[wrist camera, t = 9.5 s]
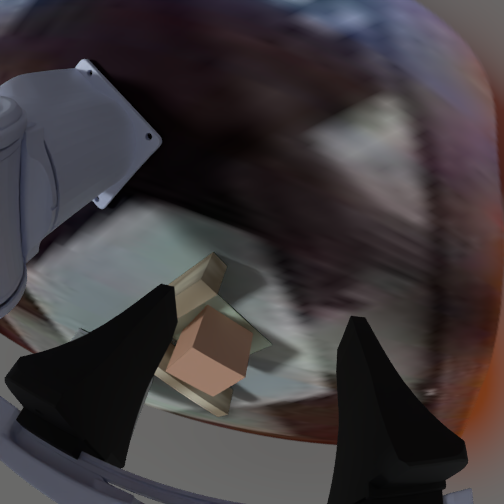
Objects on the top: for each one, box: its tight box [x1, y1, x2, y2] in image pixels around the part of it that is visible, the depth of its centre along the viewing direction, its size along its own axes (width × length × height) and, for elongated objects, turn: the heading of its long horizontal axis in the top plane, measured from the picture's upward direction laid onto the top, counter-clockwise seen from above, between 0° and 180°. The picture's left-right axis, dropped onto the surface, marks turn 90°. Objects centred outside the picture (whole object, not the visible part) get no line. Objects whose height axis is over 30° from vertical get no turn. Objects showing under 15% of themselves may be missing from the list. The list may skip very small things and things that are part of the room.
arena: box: [154, 252, 272, 417], centre depth 27 cm, size 15×13×4 cm
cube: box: [166, 305, 253, 396], centre depth 26 cm, size 5×5×5 cm
